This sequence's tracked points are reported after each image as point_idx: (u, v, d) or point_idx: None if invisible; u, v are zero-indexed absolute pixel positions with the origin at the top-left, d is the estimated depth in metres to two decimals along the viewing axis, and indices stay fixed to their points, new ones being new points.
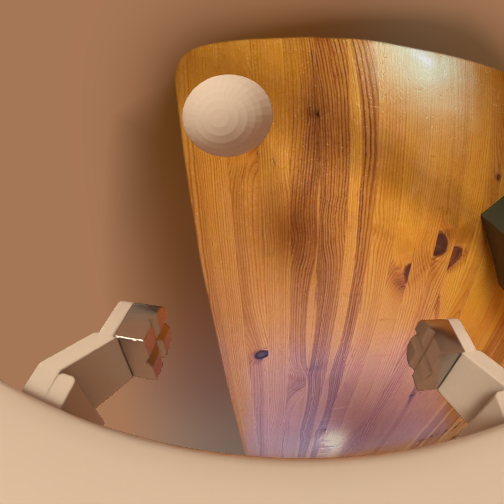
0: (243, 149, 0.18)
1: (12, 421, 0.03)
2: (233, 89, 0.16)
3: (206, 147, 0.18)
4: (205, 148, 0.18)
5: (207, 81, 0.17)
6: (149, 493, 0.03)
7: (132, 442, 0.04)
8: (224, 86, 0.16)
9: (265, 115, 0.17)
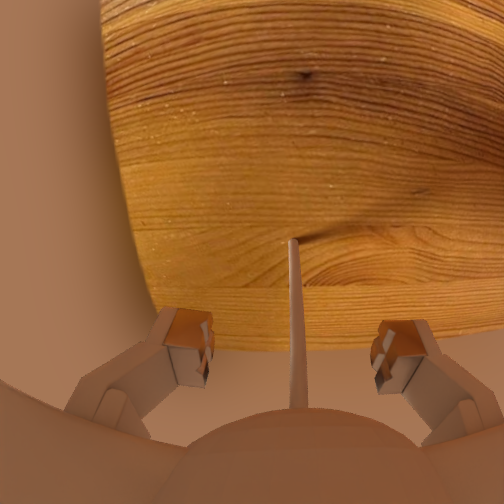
0: None
1: (12, 421, 0.03)
2: None
3: None
4: None
5: None
6: (149, 493, 0.03)
7: (132, 442, 0.04)
8: None
9: None
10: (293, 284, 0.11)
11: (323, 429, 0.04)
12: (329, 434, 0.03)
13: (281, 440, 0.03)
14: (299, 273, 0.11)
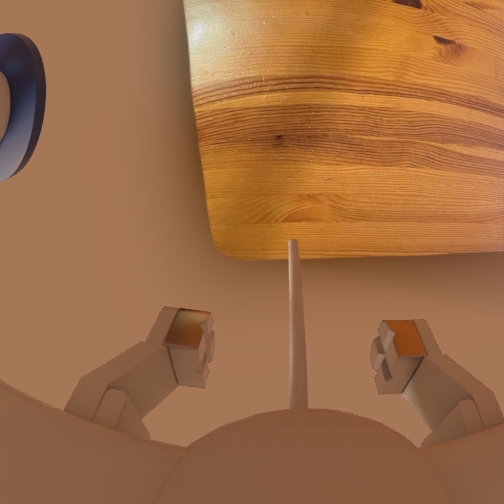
0: None
1: (12, 421, 0.03)
2: None
3: None
4: None
5: None
6: (149, 493, 0.03)
7: (132, 442, 0.04)
8: None
9: None
10: (293, 284, 0.11)
11: (322, 429, 0.04)
12: (328, 434, 0.03)
13: (281, 440, 0.03)
14: (299, 273, 0.11)
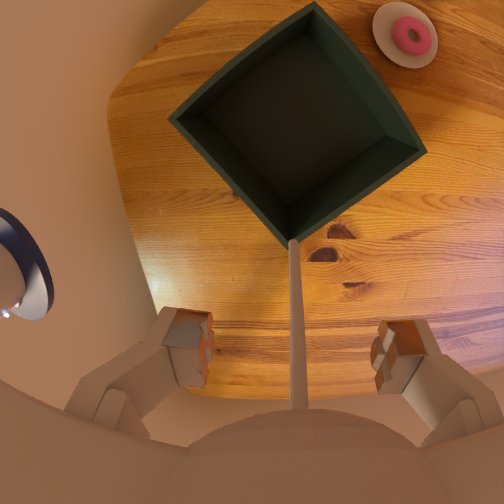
0: None
1: (12, 421, 0.03)
2: None
3: None
4: None
5: None
6: (149, 493, 0.03)
7: (132, 442, 0.04)
8: None
9: None
10: (293, 285, 0.11)
11: (323, 430, 0.04)
12: (329, 435, 0.03)
13: (281, 441, 0.03)
14: (299, 274, 0.11)
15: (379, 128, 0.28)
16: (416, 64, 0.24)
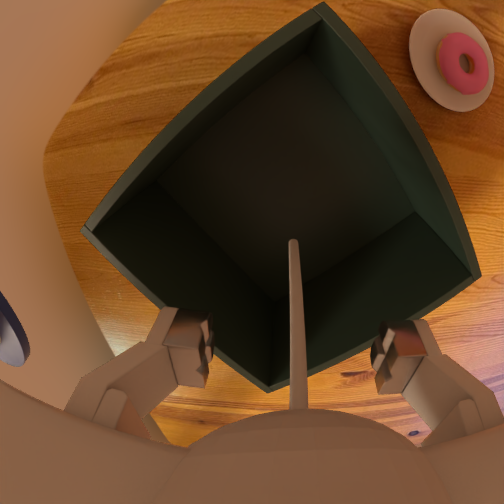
0: None
1: (12, 421, 0.03)
2: None
3: None
4: None
5: None
6: (149, 493, 0.03)
7: (132, 442, 0.04)
8: None
9: None
10: (293, 285, 0.11)
11: (323, 430, 0.04)
12: (329, 435, 0.03)
13: (281, 441, 0.03)
14: (299, 274, 0.11)
15: (407, 201, 0.20)
16: (464, 106, 0.16)
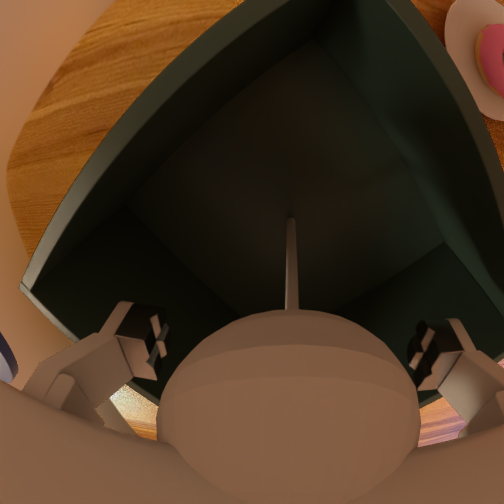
0: None
1: (12, 421, 0.03)
2: None
3: None
4: None
5: None
6: (149, 493, 0.03)
7: (132, 442, 0.04)
8: None
9: (299, 430, 0.03)
10: (289, 249, 0.13)
11: (303, 311, 0.06)
12: (307, 312, 0.06)
13: (273, 313, 0.06)
14: (294, 242, 0.14)
15: (436, 231, 0.16)
16: None
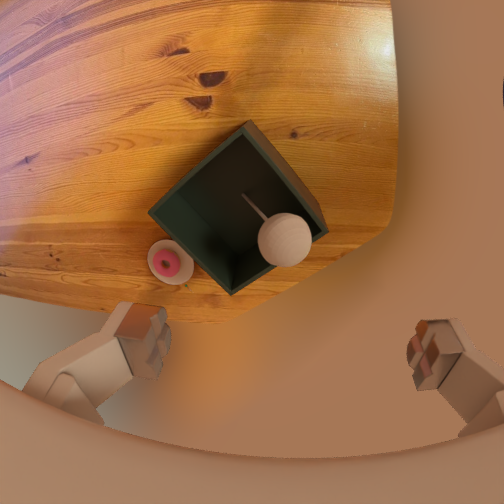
0: (271, 260, 0.31)
1: (12, 421, 0.03)
2: (307, 254, 0.32)
3: (278, 243, 0.30)
4: (276, 241, 0.30)
5: None
6: (149, 493, 0.03)
7: (132, 442, 0.04)
8: (309, 249, 0.32)
9: None
10: None
11: None
12: None
13: None
14: (250, 204, 0.39)
15: (181, 193, 0.42)
16: (160, 242, 0.47)
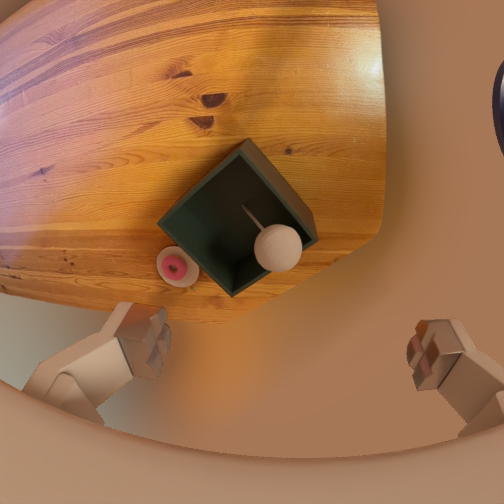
0: (265, 266, 0.35)
1: (12, 421, 0.03)
2: None
3: (271, 251, 0.34)
4: (270, 250, 0.34)
5: (301, 243, 0.36)
6: (149, 493, 0.03)
7: (132, 442, 0.04)
8: (300, 256, 0.36)
9: None
10: None
11: None
12: None
13: None
14: (249, 215, 0.44)
15: (186, 204, 0.47)
16: (168, 248, 0.51)
